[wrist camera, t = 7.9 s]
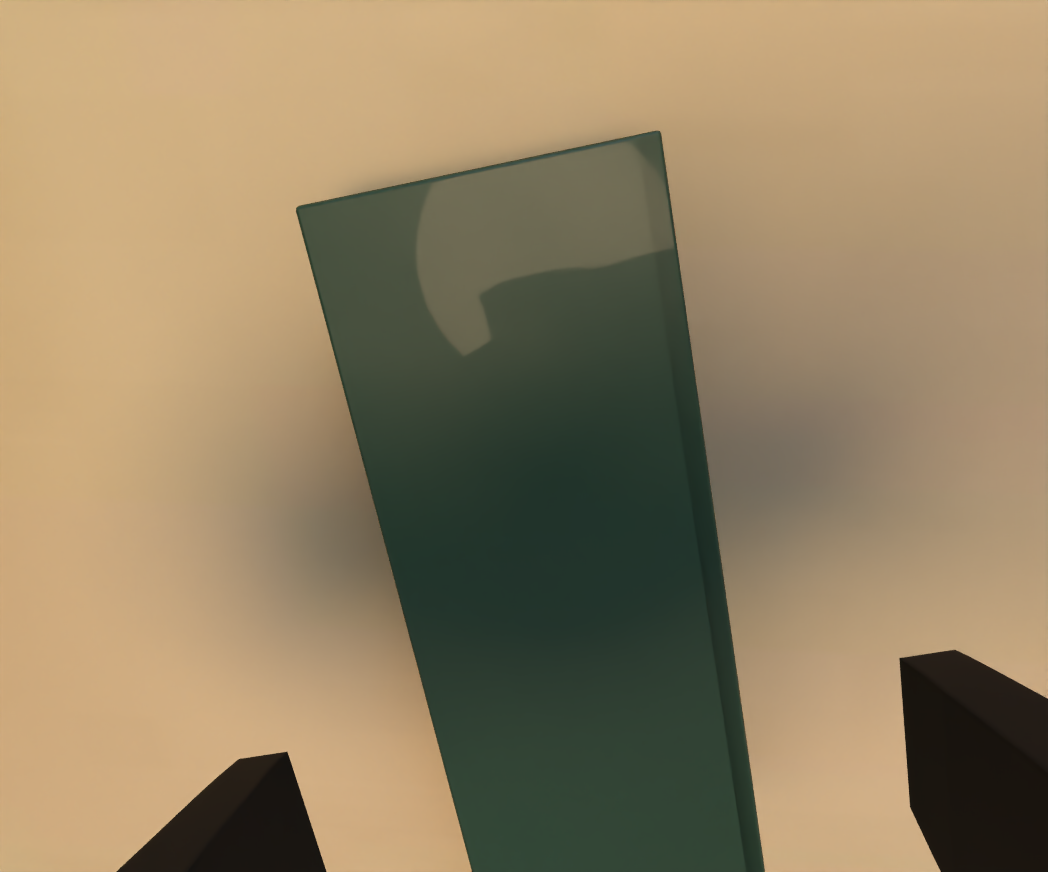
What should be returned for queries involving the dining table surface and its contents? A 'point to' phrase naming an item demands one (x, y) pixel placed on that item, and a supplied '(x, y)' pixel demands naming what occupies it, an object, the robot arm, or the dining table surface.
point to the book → (547, 504)
